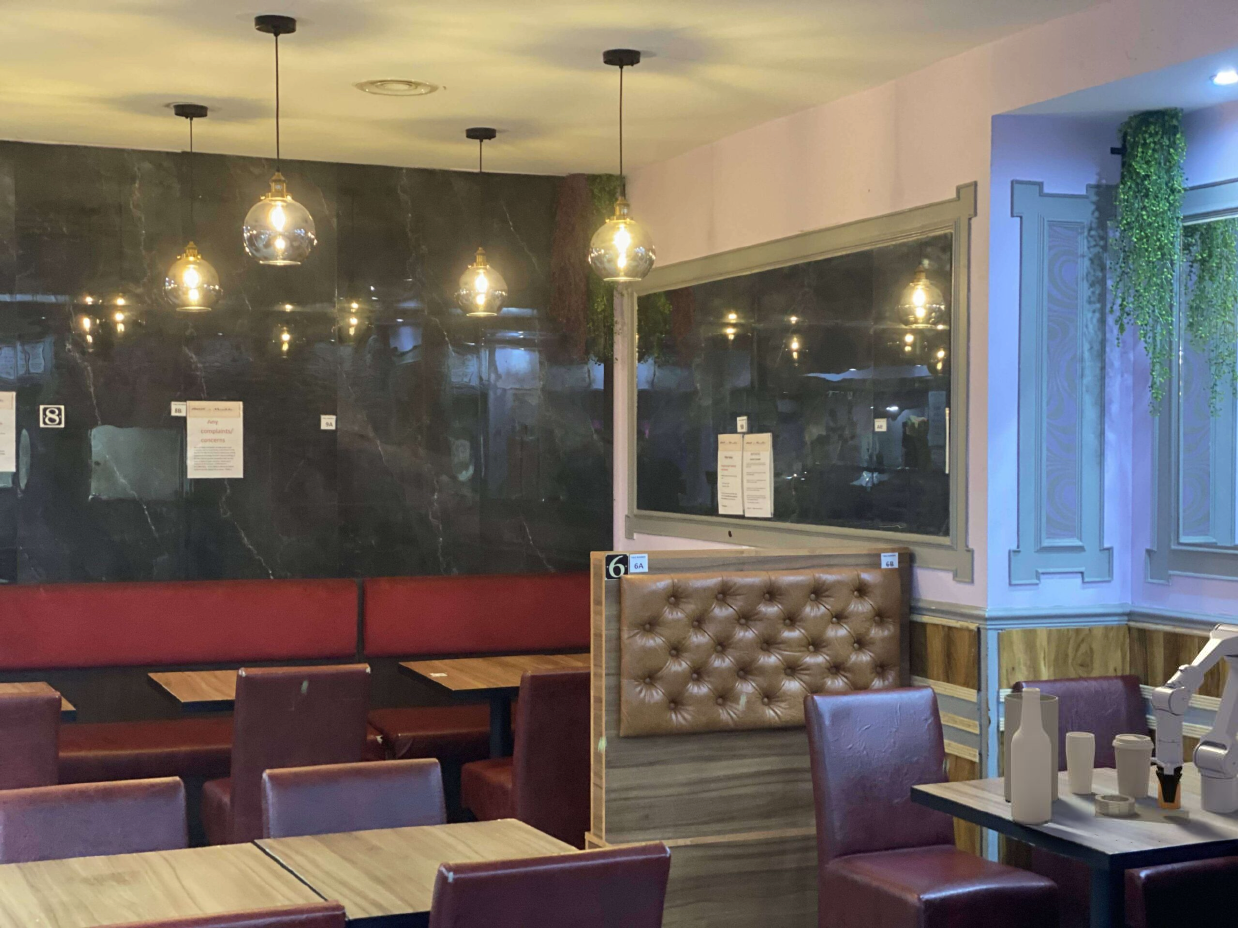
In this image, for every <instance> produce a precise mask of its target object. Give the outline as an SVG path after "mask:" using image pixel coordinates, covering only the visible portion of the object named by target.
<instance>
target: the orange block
mask: <svg viewBox="0 0 1238 928" xmlns="http://www.w3.org/2000/svg"><path fill="white" fill-rule="evenodd" d="M1181 790H1182V789H1181V780H1180V781H1179V783H1178V786H1177V791H1176V797H1175V801H1174V803H1165V802H1164V800H1163V795H1162V789H1161V785H1160V782H1159V779H1158V778H1157V808H1161V809H1171V810H1181V802H1182V801H1181V795H1182V794H1181V793H1182V791H1181Z"/></svg>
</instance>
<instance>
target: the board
mask: <svg viewBox="0 0 1238 928" xmlns="http://www.w3.org/2000/svg"><path fill="white" fill-rule="evenodd" d="M1094 811H1095V810H1094ZM1189 813H1190V811H1189V810H1184V809H1175V810H1171V809H1163V808H1160V807H1148V806H1137V805H1135V814H1134V815H1130V816H1112V815H1105V814H1101V813H1098V812H1096V811H1095V812H1094V816H1093V817H1094V818H1104V819H1113V820H1114V819H1115V820H1125V821H1134V822H1135V821H1138V822H1145V823H1146V822H1149V823H1160V824H1169V825H1170V824H1172V825H1183V826H1189V824H1190V823H1189V822H1190V821H1189V818H1190V814H1189Z"/></svg>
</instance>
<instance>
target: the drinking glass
mask: <svg viewBox="0 0 1238 928" xmlns="http://www.w3.org/2000/svg"><path fill="white" fill-rule="evenodd" d="M1095 739H1096V738H1095V734H1093V733H1090V732H1083V731H1069V732H1067V733H1066V734H1065V755H1066V756H1065V757H1066V767H1067V779H1068V792H1070V793H1072V794H1077V795H1090V794H1092V792H1093V789H1092V788H1093V776H1094V765H1095V764H1094V763H1095V762H1094V761H1095V752H1096V744H1095V743H1096V742H1095Z"/></svg>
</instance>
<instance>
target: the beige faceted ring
mask: <svg viewBox="0 0 1238 928" xmlns="http://www.w3.org/2000/svg"><path fill="white" fill-rule="evenodd" d="M1135 806H1136V798H1132V797H1129V796H1124V795H1119V794H1116V793H1115V794H1114V793H1102V794H1097V795H1095V797H1094V811H1096V812H1098V813H1101V814H1105V815H1112V816H1130V815H1134V814H1135Z"/></svg>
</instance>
